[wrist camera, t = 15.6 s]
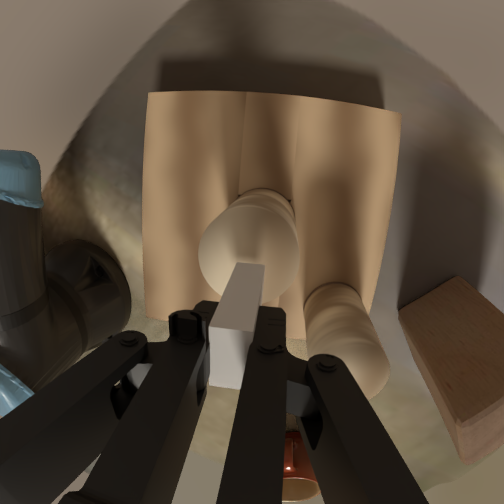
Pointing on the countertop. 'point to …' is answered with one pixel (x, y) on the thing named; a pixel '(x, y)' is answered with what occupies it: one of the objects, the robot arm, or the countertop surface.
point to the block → (461, 363)
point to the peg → (252, 242)
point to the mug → (297, 471)
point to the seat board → (289, 185)
